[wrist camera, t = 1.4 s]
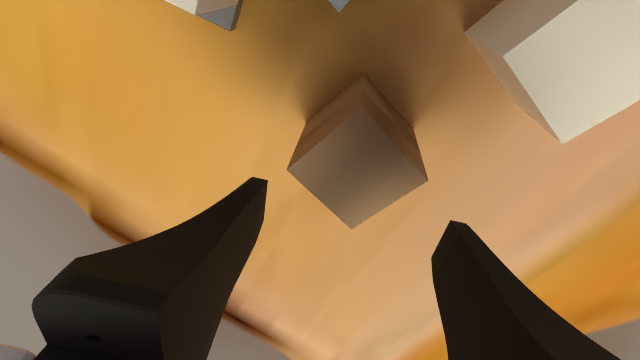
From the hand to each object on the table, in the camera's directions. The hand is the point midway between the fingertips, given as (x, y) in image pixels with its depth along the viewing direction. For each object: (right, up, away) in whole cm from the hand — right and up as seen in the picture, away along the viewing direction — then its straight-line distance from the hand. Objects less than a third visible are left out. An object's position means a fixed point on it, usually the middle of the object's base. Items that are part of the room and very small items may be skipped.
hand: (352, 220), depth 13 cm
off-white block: (+10, +9, +4) cm, 14 cm away
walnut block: (+1, +5, +8) cm, 10 cm away
